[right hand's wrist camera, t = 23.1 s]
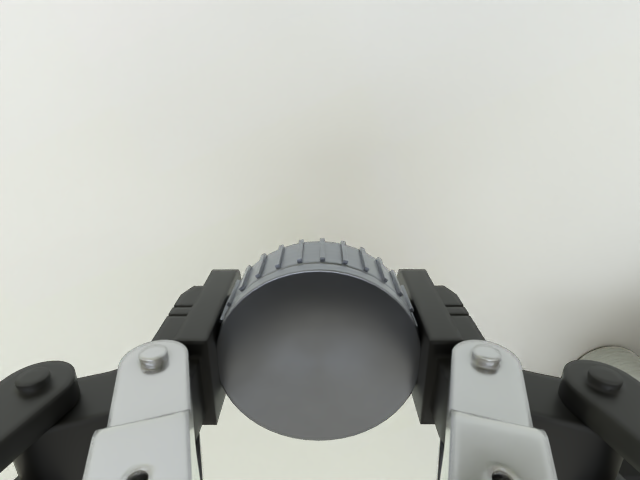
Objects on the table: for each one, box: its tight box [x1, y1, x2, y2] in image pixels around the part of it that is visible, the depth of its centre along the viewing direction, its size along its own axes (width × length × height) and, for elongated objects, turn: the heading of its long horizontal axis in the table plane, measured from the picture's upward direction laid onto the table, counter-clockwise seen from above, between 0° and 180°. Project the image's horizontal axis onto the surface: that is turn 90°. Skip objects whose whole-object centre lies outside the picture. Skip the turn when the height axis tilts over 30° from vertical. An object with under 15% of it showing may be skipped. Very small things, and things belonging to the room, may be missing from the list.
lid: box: [216, 238, 421, 441], centre depth 10 cm, size 5×5×2 cm
